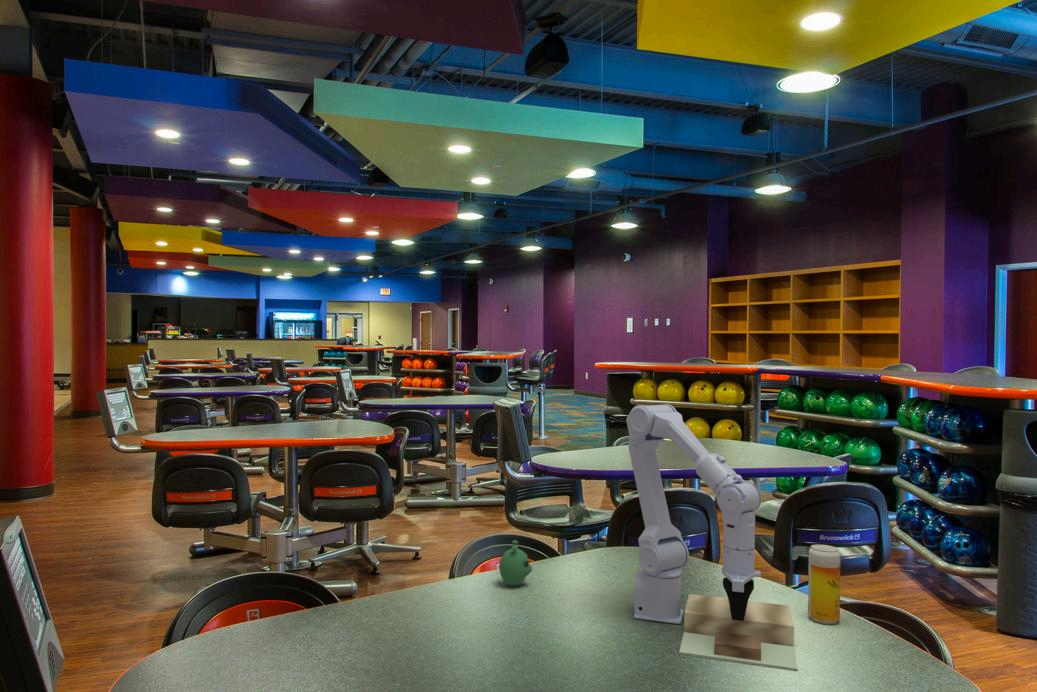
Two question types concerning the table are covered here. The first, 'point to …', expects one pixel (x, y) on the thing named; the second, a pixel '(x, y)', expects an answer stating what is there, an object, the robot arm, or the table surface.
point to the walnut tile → (737, 646)
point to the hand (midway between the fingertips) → (737, 619)
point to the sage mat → (769, 657)
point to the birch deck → (759, 620)
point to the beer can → (824, 584)
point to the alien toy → (514, 566)
